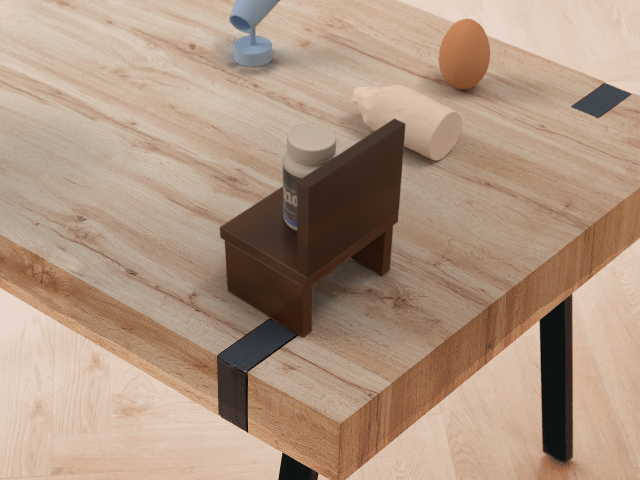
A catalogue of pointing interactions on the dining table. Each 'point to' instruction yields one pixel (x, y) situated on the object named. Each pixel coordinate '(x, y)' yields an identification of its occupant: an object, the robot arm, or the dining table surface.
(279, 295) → the small wooden chair
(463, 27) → the egg
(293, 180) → the pill bottle
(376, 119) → the beige bottle
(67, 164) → the dining table surface
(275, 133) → the dining table surface
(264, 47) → the spotlight
